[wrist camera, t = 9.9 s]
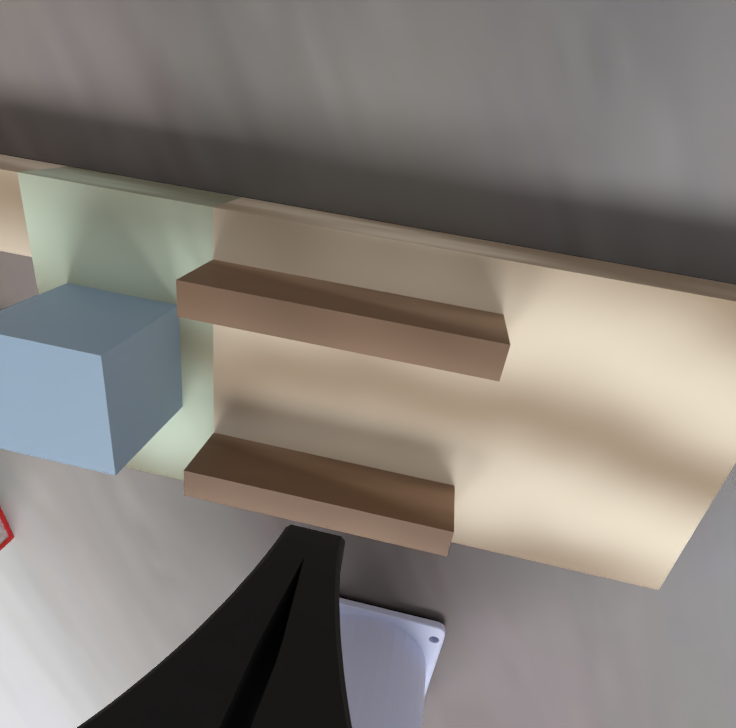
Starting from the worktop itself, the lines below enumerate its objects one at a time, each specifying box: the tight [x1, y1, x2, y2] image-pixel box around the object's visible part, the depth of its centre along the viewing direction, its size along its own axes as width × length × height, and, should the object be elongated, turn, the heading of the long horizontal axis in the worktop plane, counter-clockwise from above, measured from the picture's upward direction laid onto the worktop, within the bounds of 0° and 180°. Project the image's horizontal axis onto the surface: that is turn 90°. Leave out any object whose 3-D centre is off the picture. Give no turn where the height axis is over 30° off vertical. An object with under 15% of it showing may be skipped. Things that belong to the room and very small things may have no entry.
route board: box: [0, 154, 736, 590], centre depth 19 cm, size 12×32×5 cm, turn 82°
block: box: [0, 283, 183, 475], centre depth 17 cm, size 4×4×4 cm
